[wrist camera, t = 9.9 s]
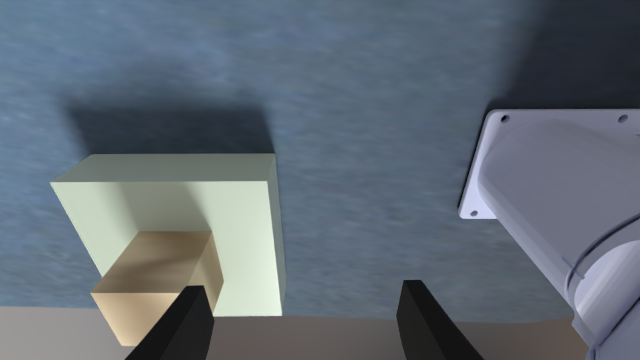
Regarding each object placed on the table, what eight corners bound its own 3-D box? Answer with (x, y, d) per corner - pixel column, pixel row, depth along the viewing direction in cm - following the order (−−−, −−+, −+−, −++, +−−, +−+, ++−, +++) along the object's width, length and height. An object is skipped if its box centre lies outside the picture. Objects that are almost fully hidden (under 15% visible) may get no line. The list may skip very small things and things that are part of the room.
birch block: (212, 231, 18) (183, 293, 14) (224, 281, 20) (202, 345, 17) (139, 231, 18) (90, 292, 14) (159, 281, 20) (121, 346, 17)
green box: (275, 150, 20) (267, 181, 16) (286, 274, 26) (282, 315, 22) (96, 151, 20) (49, 182, 16) (150, 275, 26) (124, 316, 22)
